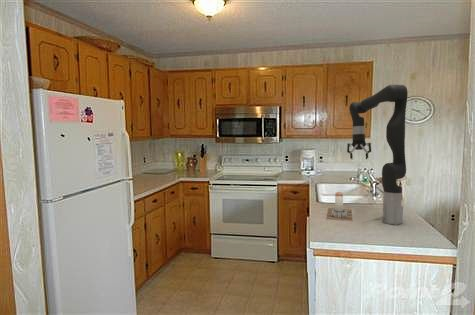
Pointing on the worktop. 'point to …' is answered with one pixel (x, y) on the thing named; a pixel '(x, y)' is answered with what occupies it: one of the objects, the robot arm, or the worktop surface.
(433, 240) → the worktop surface
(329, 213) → the jig board
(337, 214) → the socket collar
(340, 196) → the cylinder
